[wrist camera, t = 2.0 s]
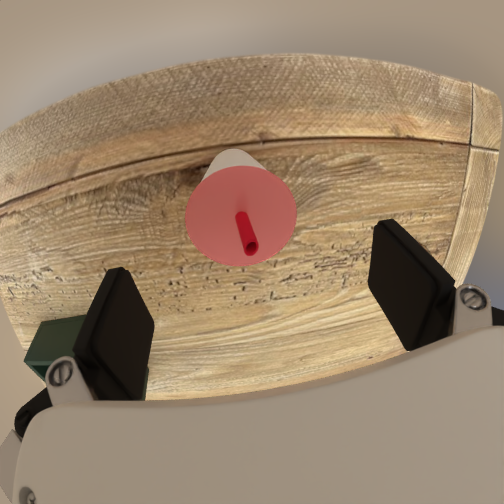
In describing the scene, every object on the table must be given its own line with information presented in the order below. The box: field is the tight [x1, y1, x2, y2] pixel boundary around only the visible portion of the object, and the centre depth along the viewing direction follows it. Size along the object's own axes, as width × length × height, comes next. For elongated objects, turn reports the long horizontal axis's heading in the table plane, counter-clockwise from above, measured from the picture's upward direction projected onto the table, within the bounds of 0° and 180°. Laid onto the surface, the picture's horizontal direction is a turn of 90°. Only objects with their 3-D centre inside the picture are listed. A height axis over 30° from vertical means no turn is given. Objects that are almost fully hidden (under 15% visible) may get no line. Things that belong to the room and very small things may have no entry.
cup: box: [185, 149, 297, 266], centre depth 16 cm, size 5×5×12 cm
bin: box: [24, 315, 149, 401], centre depth 27 cm, size 12×12×7 cm
